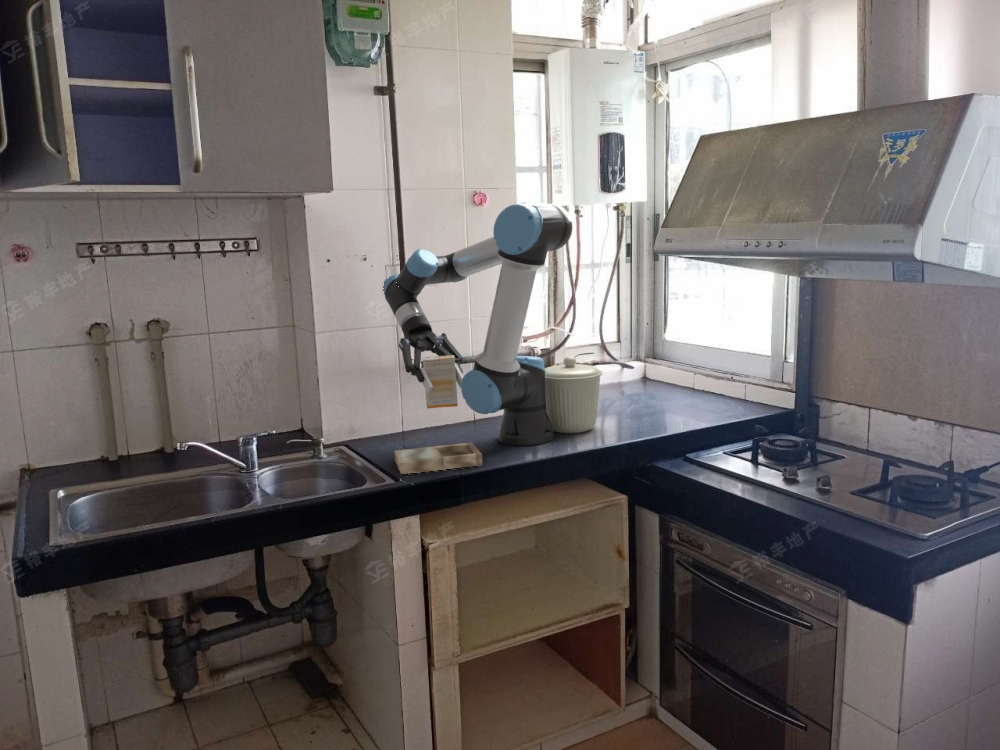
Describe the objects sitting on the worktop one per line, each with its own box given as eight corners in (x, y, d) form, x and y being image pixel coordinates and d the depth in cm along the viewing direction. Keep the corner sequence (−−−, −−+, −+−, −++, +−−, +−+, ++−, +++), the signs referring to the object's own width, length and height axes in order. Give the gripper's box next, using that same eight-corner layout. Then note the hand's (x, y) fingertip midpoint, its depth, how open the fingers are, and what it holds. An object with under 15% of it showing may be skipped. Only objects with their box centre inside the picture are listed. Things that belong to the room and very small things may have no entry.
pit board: (472, 453, 207) (471, 441, 206) (482, 466, 195) (481, 453, 195) (395, 462, 202) (394, 449, 202) (400, 475, 191) (400, 462, 190)
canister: (528, 428, 231) (525, 356, 228) (581, 419, 239) (579, 349, 236) (561, 440, 215) (559, 364, 212) (616, 430, 224) (615, 356, 220)
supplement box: (458, 403, 213) (455, 354, 210) (457, 407, 208) (454, 357, 206) (427, 405, 212) (423, 356, 210) (426, 408, 208) (422, 359, 205)
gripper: (444, 328, 226) (477, 390, 215) (373, 336, 214) (405, 402, 203) (452, 310, 220) (487, 372, 210) (380, 317, 208) (413, 384, 198)
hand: (446, 387), depth 206 cm, fingers closed on supplement box, 9 cm apart
